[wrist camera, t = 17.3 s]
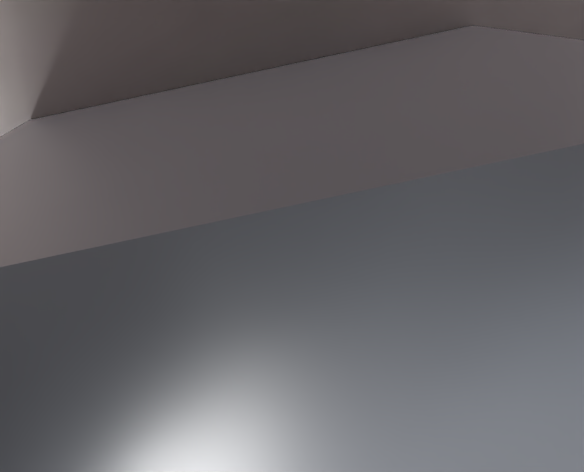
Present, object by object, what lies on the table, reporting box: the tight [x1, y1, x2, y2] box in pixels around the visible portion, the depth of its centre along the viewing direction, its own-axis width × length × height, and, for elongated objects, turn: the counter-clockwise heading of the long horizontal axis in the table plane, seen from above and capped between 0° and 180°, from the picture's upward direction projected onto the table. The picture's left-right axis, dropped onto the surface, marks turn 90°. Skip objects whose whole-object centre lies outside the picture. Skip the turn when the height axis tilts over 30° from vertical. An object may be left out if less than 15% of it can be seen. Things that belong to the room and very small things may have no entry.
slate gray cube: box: [0, 25, 584, 472], centre depth 11 cm, size 10×10×9 cm
